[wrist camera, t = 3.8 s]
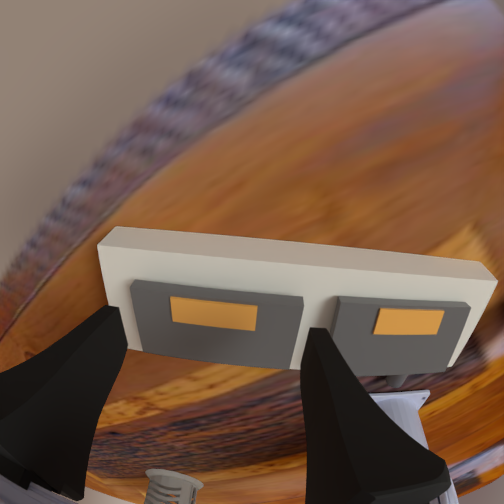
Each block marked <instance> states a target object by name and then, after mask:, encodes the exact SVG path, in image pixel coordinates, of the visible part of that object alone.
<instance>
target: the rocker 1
mask: <svg viewBox="0 0 504 504" xmlns="http://www.w3.org/2000/svg"><path fill="white" fill-rule="evenodd" d="M130 293H131V299H132V304H133V309H134V314H135V318H136V323H137V328H138V332H139V337H140V341H141V345H142V349H143V352H146V353H152V354H158V355H164V356H170V357H176V358H183V359H190V360H197V361H204V362H212V363H221V364H229V365H239V366H250V367H261V368H274V369H289V368H290V364H291V360H292V356H293V352H294V348H295V344H296V340H297V336H298V331H299V327H300V323H301V318H302V314H303V310H304V300H303V297H302V296H289V295H277V294H266V293H255V292H244V291H234V290H224V289H215V288H205V287H196V286H187V285H178V284H170V283H162V282H154V281H146V280H138V279H135V280H134V281H133V283H132V284H131V286H130Z"/></svg>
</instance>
